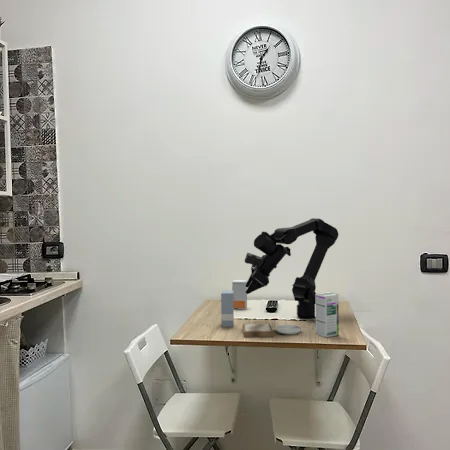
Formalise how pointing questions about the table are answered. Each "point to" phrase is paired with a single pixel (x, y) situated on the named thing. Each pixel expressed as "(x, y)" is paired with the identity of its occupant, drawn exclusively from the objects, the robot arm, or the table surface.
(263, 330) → the tray
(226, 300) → the carton
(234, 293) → the skincare box
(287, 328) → the saucer
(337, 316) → the syrup box
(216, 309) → the table surface
